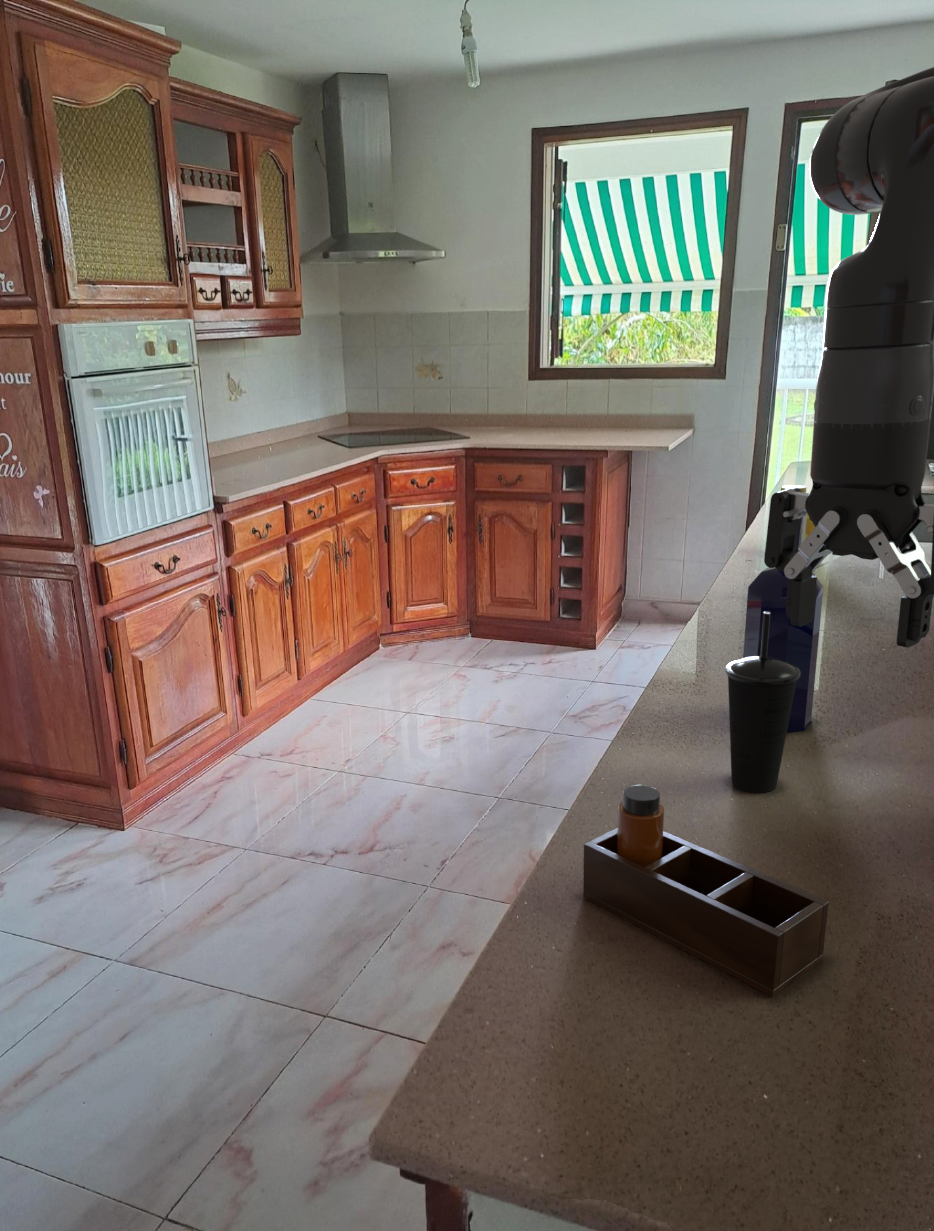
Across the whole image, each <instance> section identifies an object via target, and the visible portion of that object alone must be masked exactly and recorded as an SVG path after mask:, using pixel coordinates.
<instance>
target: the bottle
mask: <svg viewBox="0 0 934 1231" xmlns="http://www.w3.org/2000/svg"><path fill="white" fill-rule="evenodd" d="M807 487H808V486H806V485H802V484H801V485H799V484H787V485H782V486H781V487H780V491H783V490H786V489H792V488H799V489H800V490H801V491H802V493H807ZM805 515H806V511H805V514H804V516H805ZM804 516H803V517H802V518H800V522H799V530H798V538H797V547H796V553H797V552H798V548H799V546H800V545H801V537H802V528H803V519H804ZM812 576H816V574H815V573H814V571H813V572H812ZM787 582H788V580H787V577H786V576H785V574H784V573H783V572H782V571H780V570H778V569H777V568H775V567H774V568H769V567H766V568H765V569H763V570H761V572H760V573H759V574H758V575H757V576H756V577H755V578H754V580H753V581H752V582H751V583H750V584H749V585H748V587H747V598H746V613H745V628H744V639H743V640H744V641H743V652H742V654H743V655H742V659H743V658H747V657H752V656H760V654H761V641H762V628H763V615H764V612H770V625H769V637H768V650H767V656H769V657H774V658H778V659H781V660H783V661H785V662H787V663H790V664H793V665H795V666H796V667H798V668H799V670H800V677H799V679H798V680H797V681H796V687H795V692H794V697H793V702H792V708H791V713H790V718H789V723H788V729H787V734H788V733H796V732H797V733H798V732H805V731H807V729H808V727H809V726H810V725H811V724H812V722H813V720H812V715H813V704H814V693H815V683H816V674H817V673H816V671H817V661H818V652H819V651H818V650H819V640H820V630H821V621H822V620H821V618H822V608H823V597H824V585H823V584H822V583H821V581H820V580H819V578H818V577H817V581H816V595H815V609H814V618H813V621H812V622H811V623H809V624H807V625H804V626H802V627H799V626H794V625H791V623H790V618H791V617H788V616H787V613H786V599H787Z"/></svg>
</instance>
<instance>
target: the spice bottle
mask: <svg viewBox="0 0 934 1231" xmlns="http://www.w3.org/2000/svg"><path fill="white" fill-rule="evenodd" d="M664 821H665V808H664V806H663V804H661V793H660V791H659V790H658V789H657V788H655V787H652V786H650V785H647V784H646V785H645V784H633V785H630V786H627V787H625V788H624V789H623V790H622V801H621V802H620V803H619V804H618V806H617V826H616V828H617V855H619V856H621V857H624V858H626V859H628V860H630V861H632V862H634V863H636V864H639V865H641V866H643V867H646V866H648V865H649V864H651V863H653V862H655V861H657V860H659V859H661V858H662V851H663V831H664V826H665V825H664V823H665V822H664Z"/></svg>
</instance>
